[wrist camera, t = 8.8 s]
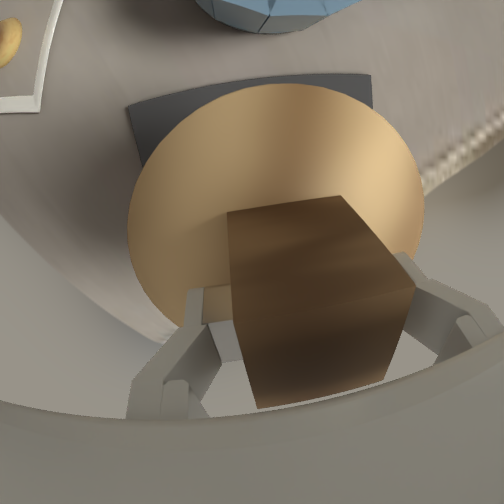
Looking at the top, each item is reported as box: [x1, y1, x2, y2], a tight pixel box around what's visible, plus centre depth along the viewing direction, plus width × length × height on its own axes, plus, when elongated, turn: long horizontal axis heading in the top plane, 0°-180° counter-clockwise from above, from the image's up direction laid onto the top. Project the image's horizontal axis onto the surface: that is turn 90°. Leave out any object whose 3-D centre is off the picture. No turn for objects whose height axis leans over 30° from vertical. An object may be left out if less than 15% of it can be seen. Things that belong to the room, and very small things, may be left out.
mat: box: [128, 74, 373, 168], centre depth 19 cm, size 16×12×1 cm
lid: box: [127, 83, 424, 409], centre depth 9 cm, size 12×12×6 cm
